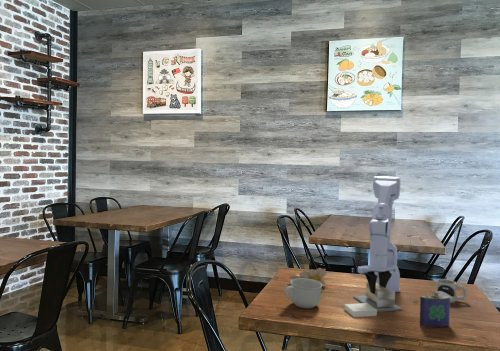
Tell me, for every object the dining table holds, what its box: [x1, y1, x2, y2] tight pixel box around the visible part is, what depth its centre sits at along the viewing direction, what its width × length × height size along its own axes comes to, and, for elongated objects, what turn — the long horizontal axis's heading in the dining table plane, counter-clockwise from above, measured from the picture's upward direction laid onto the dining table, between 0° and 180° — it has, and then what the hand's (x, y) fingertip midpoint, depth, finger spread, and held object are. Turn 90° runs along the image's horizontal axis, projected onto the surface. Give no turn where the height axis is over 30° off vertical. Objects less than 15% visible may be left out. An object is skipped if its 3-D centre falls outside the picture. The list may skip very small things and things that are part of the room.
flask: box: [419, 290, 451, 329], centre depth 129 cm, size 9×3×11 cm, turn 95°
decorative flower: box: [289, 267, 330, 286], centre depth 169 cm, size 15×11×10 cm
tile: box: [344, 302, 378, 318], centre depth 139 cm, size 8×2×7 cm
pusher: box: [365, 281, 396, 307], centre depth 148 cm, size 6×11×5 cm, turn 14°
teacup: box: [284, 278, 323, 309], centre depth 144 cm, size 14×11×8 cm
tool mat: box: [353, 294, 403, 313], centre depth 149 cm, size 10×15×1 cm, turn 14°
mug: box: [435, 278, 468, 304], centre depth 154 cm, size 10×7×7 cm, turn 65°
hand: (377, 292), depth 148 cm, fingers closed on pusher, 3 cm apart
